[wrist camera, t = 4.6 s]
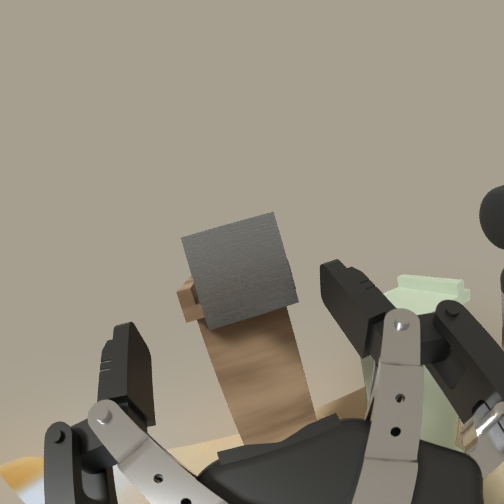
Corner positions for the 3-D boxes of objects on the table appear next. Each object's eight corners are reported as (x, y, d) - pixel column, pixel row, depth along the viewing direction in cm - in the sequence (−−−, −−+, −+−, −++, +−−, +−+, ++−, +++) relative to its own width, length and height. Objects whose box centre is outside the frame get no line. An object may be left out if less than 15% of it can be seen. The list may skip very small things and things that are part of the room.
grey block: (210, 282, 34) (200, 248, 34) (243, 272, 34) (233, 238, 34) (209, 330, 12) (180, 237, 12) (298, 302, 13) (273, 211, 13)
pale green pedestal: (357, 468, 32) (324, 302, 31) (423, 431, 33) (409, 269, 33) (395, 517, 20) (384, 327, 19) (470, 466, 22) (481, 273, 21)
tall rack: (252, 481, 35) (175, 281, 34) (326, 457, 37) (271, 252, 36) (270, 550, 20) (149, 300, 19) (365, 517, 22) (313, 251, 21)
